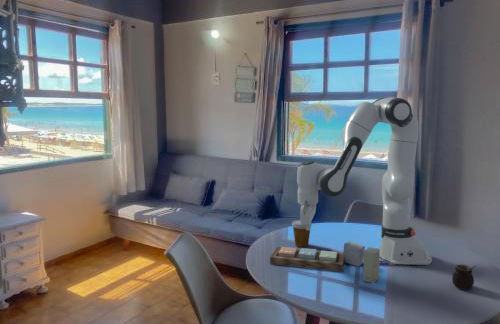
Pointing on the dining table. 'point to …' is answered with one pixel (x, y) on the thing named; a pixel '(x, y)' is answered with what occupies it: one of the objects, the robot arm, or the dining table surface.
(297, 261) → the key frame
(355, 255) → the medicine box
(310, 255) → the tile two
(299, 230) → the disposable coffee cup
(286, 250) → the tile three
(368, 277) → the skincare box
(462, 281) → the mate gourd
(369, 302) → the dining table surface
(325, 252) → the tile one
